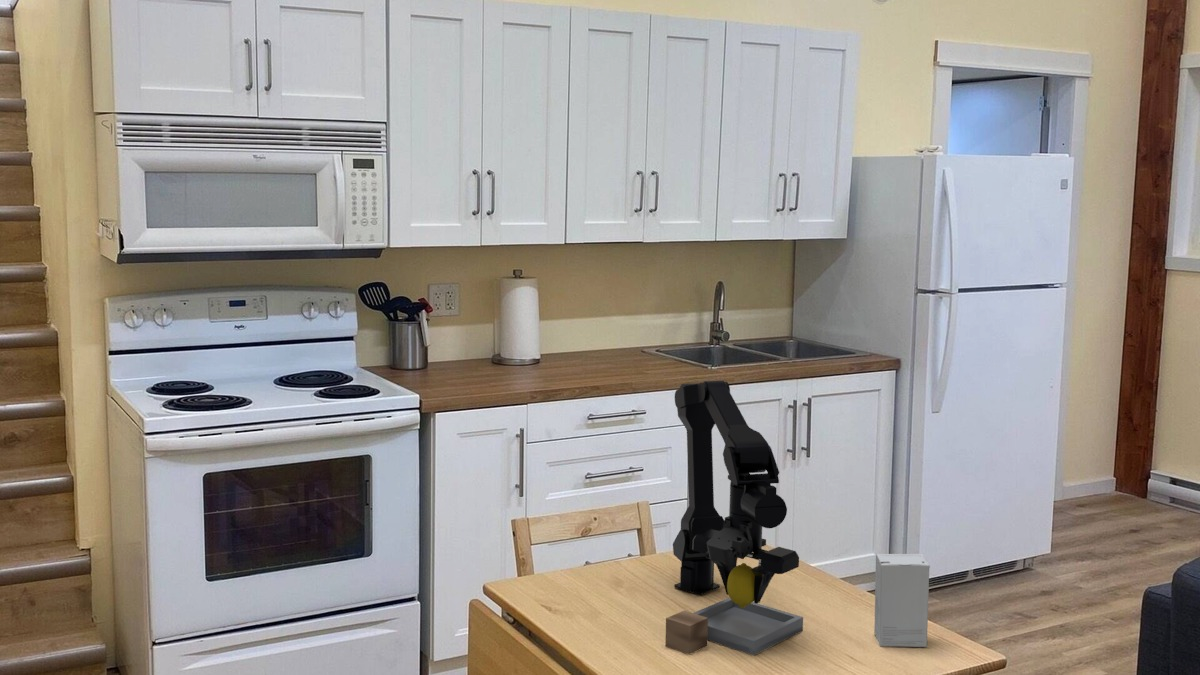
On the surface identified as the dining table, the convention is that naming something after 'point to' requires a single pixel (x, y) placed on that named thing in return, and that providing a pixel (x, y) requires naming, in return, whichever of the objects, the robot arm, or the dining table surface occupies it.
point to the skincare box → (901, 600)
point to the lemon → (741, 585)
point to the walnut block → (686, 632)
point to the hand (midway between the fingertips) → (743, 598)
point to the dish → (749, 625)
